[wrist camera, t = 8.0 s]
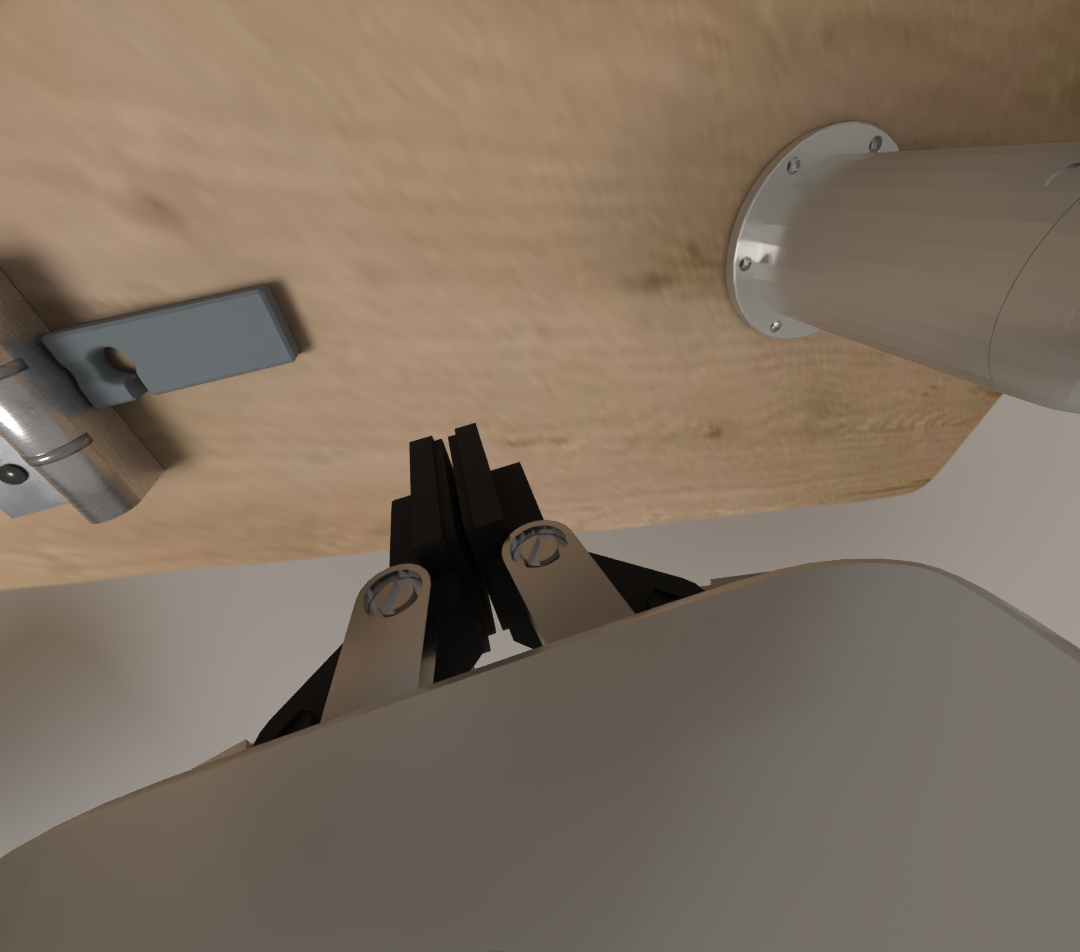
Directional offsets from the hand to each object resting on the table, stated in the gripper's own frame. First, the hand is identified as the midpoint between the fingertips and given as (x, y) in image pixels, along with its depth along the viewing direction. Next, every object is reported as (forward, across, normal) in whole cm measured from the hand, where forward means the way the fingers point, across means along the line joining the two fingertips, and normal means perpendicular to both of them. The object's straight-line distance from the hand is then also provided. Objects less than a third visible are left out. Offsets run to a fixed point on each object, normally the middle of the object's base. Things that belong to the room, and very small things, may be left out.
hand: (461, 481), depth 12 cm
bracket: (+19, +13, -2) cm, 23 cm away
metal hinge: (+18, +22, -1) cm, 29 cm away
